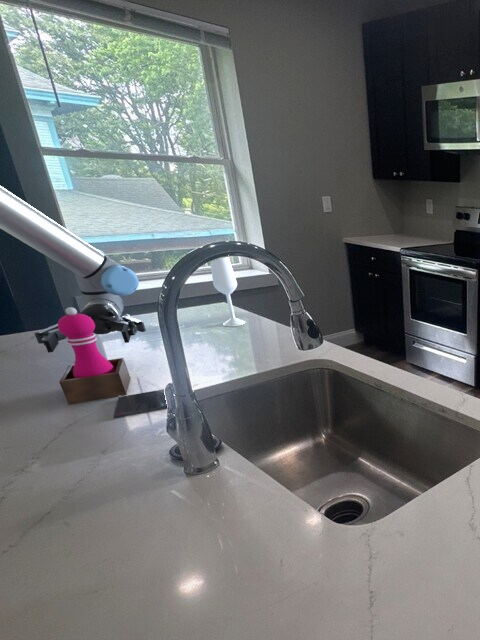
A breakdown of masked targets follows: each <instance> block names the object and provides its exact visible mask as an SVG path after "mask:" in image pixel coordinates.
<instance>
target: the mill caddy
mask: <svg viewBox="0 0 480 640" xmlns="http://www.w3.org/2000/svg"><path fill="white" fill-rule="evenodd" d="M107 360H108V361H109V362H110V363H111V364H112V366H113V367H114V369H115V373H108V374H101V375H94V376H87V377H81V378H74V375H73V368H74V364H69V365H67V367H66V369H65V371H64V372H63V374H62V376H61V378H60V380H59V381H58V382H59V385H60V388H61V390H62V392H63V395H64V398H65V399H66V402H67V405H73V404H79V403H85V402H86V403H87V402H90V401H96V400H97V401H98V400H102V399H110V398H115V397H121V396H127V394H128V390H129V386H130V382H131V375H130V372H129V370H128V367H127V364H126V361H125V358H124V357H121V358H113V359H112V358H111V359H107Z"/></svg>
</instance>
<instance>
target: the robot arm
mask: <svg viewBox="0 0 480 640" xmlns="http://www.w3.org/2000/svg"><path fill="white" fill-rule="evenodd" d="M0 230H2V231H4V232H6V233H7V234H9V235H11V236H12V237H14V238H15V239H18V240H19V241H21V242H22V243H24V244H26V245H28V246H29V247H31V248H32V249H34V250H36V251H37V252H39V253H41V254H43V255H44V256H46V257H47V258H49V259H51V260H52V261H54V262H55V263H57V264H59V265H60V266H62V267H64V268H66V269H68V270H70V271H71V272H73V273H74V277H75V280H76V281H77V284H78V287H79V289H80V292H81V296H82V298H83V301H84V304H85V306H84V307H83V308H82V310H81V312H80V314H84V315H87V316H89V317H90V318H91V319H92V320H93V322H94V323H95V329H94V331H93V333H94V334H95V335H99V336H100V335H107V334H110V333H113V332H114V333H115V332H120V333H121V336H122V339H123V343H124V344H128V343H130V340H131V337H132V336H135V335H136V334H137V333H138V332H140V333H144V332H146V331H147V329H146V327H145V323H144V321H143V320H140V319H137V318H135V317H133V316H131V315H130V314H128V313H127V314H124V315H123V313H124V309H125V306H124V304H125V303H124V301H123V299H122V297H123V296H129V295H132V294H133V293H135V291H137V289H138V287H139V284H140V283H139V282H140V281H139V278H138V276H137V274H136V273H135V272H134V271H133V270H132V269H130V268H129V267H127V266H125V265H122V264H119V263H118V262H116V261H115V260H113V259H112V258H110V257H109V256H107V255H106V254H105V252H104V251H103V250H102V249H98V248H96V247H94V246H92V245H91V244H89V243H88V242H86V241H84V240H83V239H81V238H80V237H79V236H77V235H75V234H74V233H72V232H71V231H69V230H68V229H66V228H65V227H63V226H62V225H60V224H59V223H57V222H56V221H55V220H53V219H51V218H50V217H48V216H46V215H45V214H44V213H42V212H41V211H39V210H38V209H36V208H35V207H33V206H31V205H30V204H29V203H27V202H26V201H24V200H23V199H21V198H20V197H18V196H16V195H15V194H13V193H12V192H11V191H9V190H8V189H6V188H4V186H1V185H0ZM122 315H123V316H122ZM33 334H34V336H35V339H36V341H37V343H38V344H43V346H45V348H46V351H47V353H53V352H54V351H55V349H56V348H57V347H58V345H59V342H60V341H64V340H66V338H67V336H65V335H64V334H62V333H61V332H60V331H59V329H58V323H56V324H54V325H53V324H52V325H50V326H48V327H46V328H44V329H41V330H39V331H36V332H34V333H33Z"/></svg>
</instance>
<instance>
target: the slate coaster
mask: <svg viewBox="0 0 480 640" xmlns="http://www.w3.org/2000/svg"><path fill="white" fill-rule="evenodd" d="M164 389H165V388H164ZM164 389H158V390H151V391H145V392H140V393H133V394H128V395H127V394H126V395H122V396H118V397H117V402H116V405H115V409H114V413H113V418H114V419H117V418H123V417H128V416H129V417H130V416H134V415H138V414H144V413H149V412H155V411H161V410H166V409H168V408H167V404H166V400H165V395H164Z"/></svg>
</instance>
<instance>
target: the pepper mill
mask: <svg viewBox="0 0 480 640" xmlns="http://www.w3.org/2000/svg"><path fill="white" fill-rule="evenodd" d="M65 313H66V314H65V315H63V316H62V317H61V318H59V320H58V322H57V324H58V329H59V331H60V332H61V333H62V334H64V335H65V336H67V338H66V339H65V340H66V341H67V342H66V343H67V345H69V346H70V347H71V348H72V350H73V353H74V358H75V360H74V364H73V365H74V368H73V375H74V378H81V377H87V376H94V375H101V374H108V373H115V369H114V367H113V366H112V364H111V363H110V362H109V361H108V360H109V359H107V358H106V357H104V356H103V354H101V352H100V351H99V349H98V346H97V343H96V341H97V340H98V338H97V337H96V336H97V334H94V333H93V331H94V329H95V323H94V322H93V320H92V319H91V318H90V317H89V316H87V315H84V314H81V313H78V311H77V309H76V308H75V307H73V306H70V307H69V306H68V307H66V309H65Z"/></svg>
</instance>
